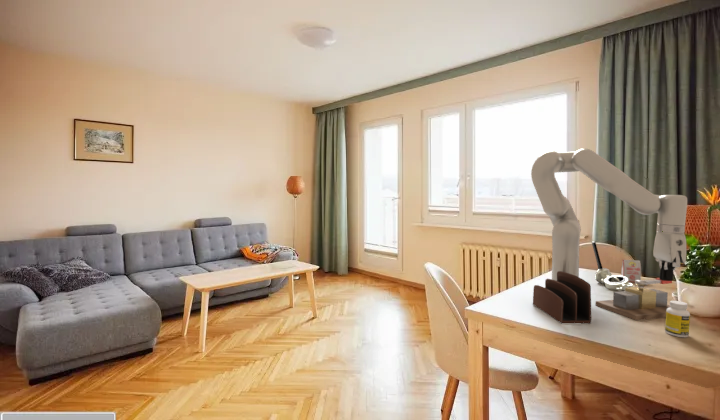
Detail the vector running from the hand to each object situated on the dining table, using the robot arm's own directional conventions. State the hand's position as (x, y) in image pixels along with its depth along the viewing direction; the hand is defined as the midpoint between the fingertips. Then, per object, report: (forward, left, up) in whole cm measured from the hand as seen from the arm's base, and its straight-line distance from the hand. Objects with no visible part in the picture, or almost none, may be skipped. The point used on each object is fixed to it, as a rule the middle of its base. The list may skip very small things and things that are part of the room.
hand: (665, 280), depth 128 cm
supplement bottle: (-18, -17, -11) cm, 27 cm away
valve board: (-8, +3, -11) cm, 14 cm away
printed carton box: (+27, +37, -11) cm, 47 cm away
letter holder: (-38, +6, -12) cm, 41 cm away
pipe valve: (-8, +3, -10) cm, 13 cm away
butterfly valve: (+9, +29, -12) cm, 33 cm away
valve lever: (-2, +3, -2) cm, 4 cm away
